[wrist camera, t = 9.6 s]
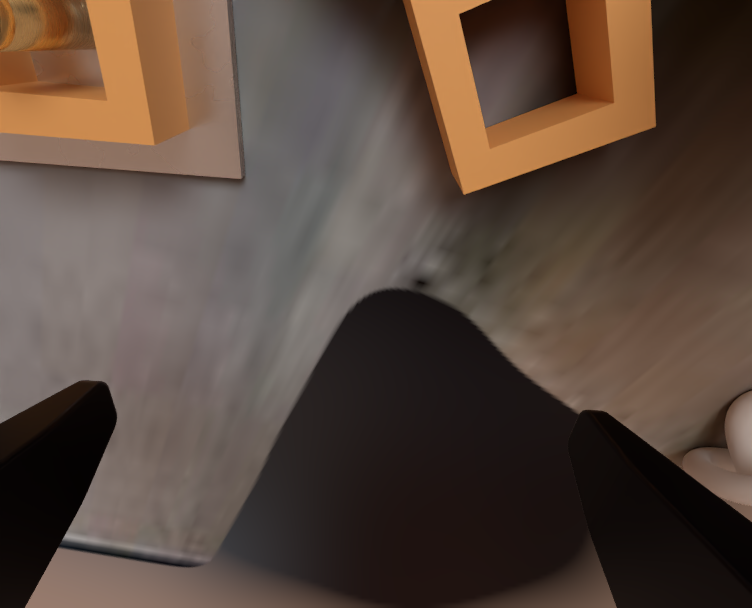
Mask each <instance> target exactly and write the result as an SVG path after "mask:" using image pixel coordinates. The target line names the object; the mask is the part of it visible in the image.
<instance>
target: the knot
mask: <svg viewBox="0 0 752 608" xmlns="http://www.w3.org/2000/svg"><path fill="white" fill-rule="evenodd" d="M725 437H726V442H727V446H728V449H725V448H717V447H701V448H696V449H693V450H691V451H689V452H688V453H687V454H686V455H685V456H684V458H683V461H682V465H683V469H684V471H685V472H686V473H688V474H689V475H690V476H691V477H693V478H694V479H695V480H697V481H698V482H699V483H701V484H702V485H703V486H705V487H706V488H707V489H709V490H710V491H711V492H713V493H714V494H715V495H717V496H718V497H720V498H723V499H726V500H729V501H732V502H735V503H739V504H744V505H749V506H752V391H749V392H746V393H744V394H742V395H741V396H739V397H738V398H737V399H736V400H735V401H734V402H733V403H732V404H731V406H730V407H729V409H728V411H727V414H726V418H725Z"/></svg>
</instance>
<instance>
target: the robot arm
mask: <svg viewBox="0 0 752 608" xmlns="http://www.w3.org/2000/svg"><path fill="white" fill-rule="evenodd" d="M116 422H117V412H116V409H115V406H114V403H113V399H112V396H111V393H110V390H109V387H108V385H107V384H106V383H105V382H102V381H89V380H83V381H79V382H77V383H75V384H73V385H71V386H69V387H67V388H65V389H64V390H62V391H60V392H58V393H56V394H54V395H52V396H51V397H49V398H47V399H45V400H43V401H41V402H39V403H38V404H36V405H34V406H32V407H30V408H28V409H26V410H25V411H23V412H21V413H19V414H17V415H15V416H13V417H12V418H10V419H8V420H6V421H4V422H2V423H1V424H0V608H25V606H26V604H27V603H28V601H29V599H30V597H31V595H32V593H33V592H34V590H35V588H36V586H37V585H38V583H39V581H40V579H41V577H42V575H43V574H44V572H45V570H46V568H47V566H48V565H49V563H50V561H51V559H52V557H53V555H54V554H55V552H56V550H57V548H58V547H59V545H60V543H61V541H62V539H63V538H64V536H65V534H66V532H67V530H68V528H69V527H70V525H71V523H72V521H73V519H74V518H75V516H76V514H77V512H78V510H79V508H80V506H81V504H82V502H83V500H84V498H85V496H86V494H87V491H88V489H89V487H90V485H91V482H92V480H93V477H94V475H95V473H96V470H97V468H98V466H99V463H100V461H101V459H102V456H103V454H104V452H105V449H106V447H107V445H108V442H109V440H110V438H111V435H112V433H113V431H114V428H115V425H116ZM568 452H569V456H570V460H571V464H572V468H573V472H574V476H575V480H576V484H577V488H578V491H579V495H580V499H581V503H582V507H583V511H584V515H585V518H586V522H587V526H588V529H589V532H590V535H591V538H592V541H593V543H594V546H595V549H596V552H597V554H598V557H599V560H600V563H601V565H602V568H603V571H604V573H605V576H606V579H607V582H608V584H609V587H610V590H611V592H612V595H613V598H614V601H615V603H616V606H617V608H752V522H751V521H750V520H748V519H747V518H745V517H744V516H743V515H742V514H740V513H739V512H738V511H736V510H735V509H734V508H732V507H731V506H730V505H728V504H727V503H726V502H725V501H723V500H722V499H721V498H719V497H718V496H717V495H715V494H714V493H713V492H711V491H710V490H709V489H707V488H706V487H705V486H703V485H702V484H701V483H699V482H698V481H697V480H695V479H694V478H693V477H691V476H690V475H689V474H688V473H686V472H685V471H684V470H682V469H681V468H680V467H678V466H677V465H676V464H674V463H673V462H672V461H670V460H669V459H668V458H666V457H665V456H664V455H662V454H661V453H660V452H658V451H657V450H656V449H654V448H653V447H652V446H651V445H649V444H648V443H647V442H645V441H644V440H643V439H641V438H640V437H639V436H637V435H636V434H635V433H633V432H632V431H631V430H629V429H628V428H627V427H625V426H624V425H623V424H621V423H620V422H619V421H617V420H616V419H615V418H614V417H612V416H611V415H610V414H608V413H607V412H604V411H598V410H583V411H582V412H581V413H580V414H579V416H578V418H577V421H576V423H575V425H574V427H573V430H572V432H571V434H570V437H569V440H568Z"/></svg>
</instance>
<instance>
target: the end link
mask: <svg viewBox="0 0 752 608" xmlns="http://www.w3.org/2000/svg"><path fill="white" fill-rule="evenodd" d="M86 3H87V8H88V13H89V17H90V22H91V26H92V31H93V36H94V40H95V45H96V50H97V54H98V59H99V64H100V68H101V73H102V78H103V82H104V87H96V86H85V85H74V84H63V83H51V82H40V81H38V79H37V76H36V72H35V69H34V65H33V61H32V58H31V54H30V51H12V52H0V133H12V134H24V135H36V136H48V137H60V138H71V139H83V140H95V141H107V142H119V143H131V144H143V145H157V144H159V143H161V142H163V141H166V140H168V139H170V138H172V137H174V136H176V135H179V134H181V133H183V132H185V131H187V130H189V121H188V114H187V106H186V98H185V91H184V83H183V75H182V68H181V60H180V52H179V45H178V37H177V29H176V22H175V14H174V6H173V0H86Z"/></svg>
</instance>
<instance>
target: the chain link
mask: <svg viewBox="0 0 752 608" xmlns="http://www.w3.org/2000/svg"><path fill="white" fill-rule="evenodd" d="M488 1H490V0H403V3H404V6H405V10H406V13H407V17H408V21H409V24H410V28H411V31H412V35H413V38H414V42H415V45H416V49H417V52H418V56H419V59H420V63H421V67H422V70H423V74H424V77H425V81H426V84H427V88H428V91H429V95H430V98H431V102H432V105H433V109H434V113H435V116H436V120H437V123H438V127H439V130H440V134H441V137H442V141H443V144H444V148H445V152H446V155H447V159H448V162H449V166H450V169H451V173H452V175H453V176H454V178H455V180H456V182H457V183H458V185H459V187H460V189H461V190H462V192H463V194H464V195H465V194H468V193H471V192H473V191H476V190H479V189H482V188H485V187H488V186H490V185H493V184H496V183H499V182H502V181H504V180H507V179H510V178H513V177H516V176H518V175H521V174H524V173H527V172H530V171H533V170H535V169H538V168H541V167H544V166H547V165H549V164H552V163H555V162H558V161H561V160H563V159H566V158H569V157H572V156H575V155H578V154H580V153H583V152H586V151H589V150H592V149H594V148H597V147H600V146H603V145H606V144H609V143H611V142H614V141H617V140H620V139H623V138H625V137H628V136H631V135H634V134H637V133H639V132H642V131H645V130H648V129H651V128H654V127H656V116H655V92H654V68H653V44H652V20H651V0H566V8H567V16H568V24H569V32H570V40H571V49H572V57H573V65H574V73H575V81H576V89H577V94H574V95H572V96H569V97H566V98H564V99H561V100H558V101H556V102H553V103H550V104H548V105H545V106H543V107H540V108H537V109H535V110H532V111H529V112H527V113H524V114H522V115H519V116H516V117H514V118H511V119H508V120H506V121H503V122H501V123H498V124H495V125H493V126H490V127H487V128H485V126H484V121H483V117H482V113H481V108H480V104H479V100H478V95H477V91H476V87H475V82H474V78H473V74H472V69H471V65H470V61H469V56H468V52H467V48H466V43H465V39H464V35H463V31H462V26H461V22H460V18H459V14H460V13H463V12H465V11H467V10H470V9H472V8H474V7H477V6H479V5H481V4H483V3H486V2H488Z"/></svg>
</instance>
